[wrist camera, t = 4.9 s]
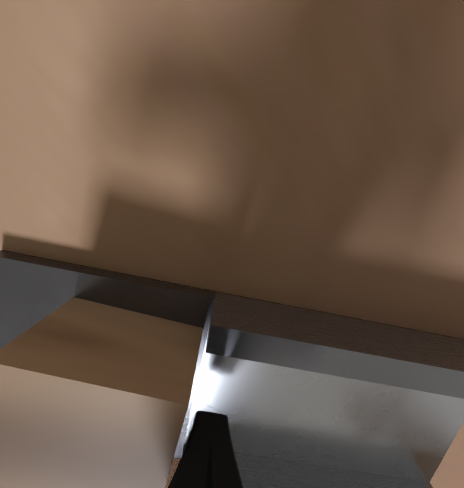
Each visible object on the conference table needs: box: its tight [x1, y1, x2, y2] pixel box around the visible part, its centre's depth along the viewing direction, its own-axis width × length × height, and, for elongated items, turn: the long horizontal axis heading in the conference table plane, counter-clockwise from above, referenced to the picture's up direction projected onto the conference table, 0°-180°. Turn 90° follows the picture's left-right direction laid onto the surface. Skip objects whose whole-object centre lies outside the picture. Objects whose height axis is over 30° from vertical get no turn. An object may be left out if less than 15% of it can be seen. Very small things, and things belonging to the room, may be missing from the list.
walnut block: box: [0, 297, 203, 488], centre depth 10 cm, size 6×6×4 cm
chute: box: [0, 250, 464, 488], centre depth 11 cm, size 10×24×3 cm, turn 78°
